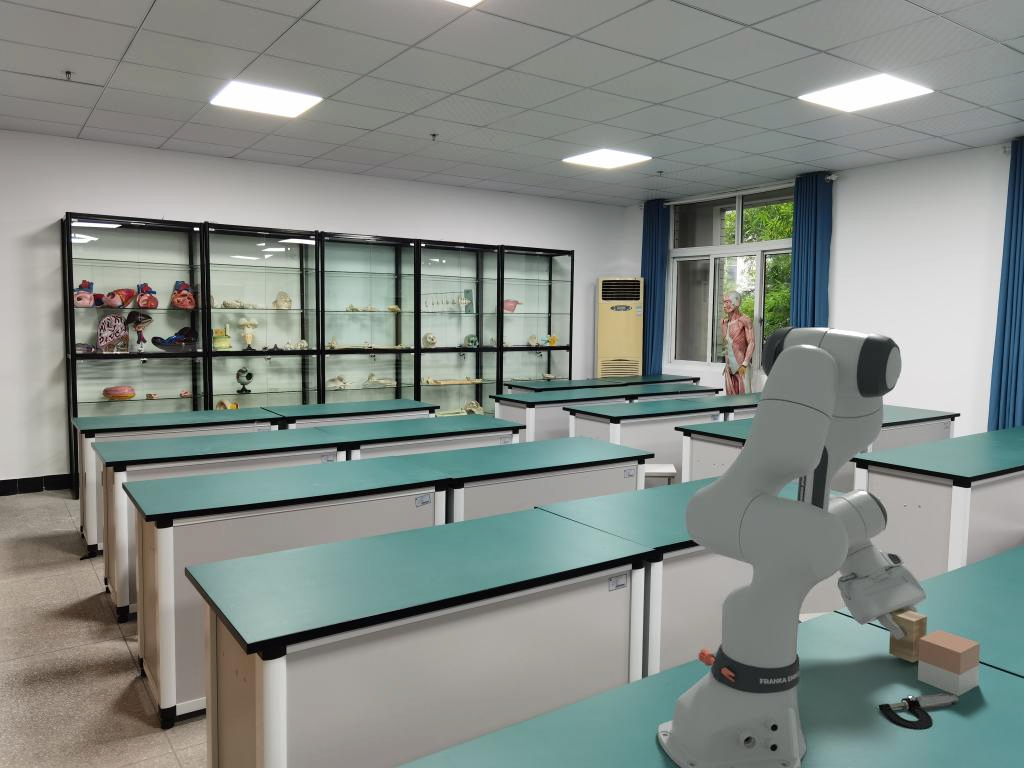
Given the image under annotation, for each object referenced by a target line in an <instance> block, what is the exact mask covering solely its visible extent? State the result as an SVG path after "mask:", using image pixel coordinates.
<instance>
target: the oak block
mask: <svg viewBox="0 0 1024 768" xmlns="http://www.w3.org/2000/svg"><path fill="white" fill-rule="evenodd" d="M891 616H892V618H893V619H892V620H893V621H894V622H895V623H896V624H897V625H898V626H899V627H900V626H902V627H903V628H904V630H905V631H906V632H907V636H905V637H903V638H901V639H896V638H895V636H894V635H893V634H892V632H890V631H889V645H888V646H889V649H888V650H889V652H888V654H890V655H892V656H895V657H897V658H899V659H902V660H905V661H908V662H910V663H915V662H917V661H919V639H920V638H922V637H924V636H926V635H927V629H928V628H927V627H928V616H927V615H924V614H921V613H919V612H918V613H916V612H913V611H910V610H907V609H901V610H898V611H896V612H893V613H891Z"/></svg>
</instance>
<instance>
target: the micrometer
mask: <svg viewBox="0 0 1024 768" xmlns="http://www.w3.org/2000/svg"><path fill="white" fill-rule="evenodd" d="M958 702H959V698H958V696H957V695H955V694H948V693H945V692H943V693H938V694H927V695H926V694H925V695H919V696H914V695H911V694H908V695H907V697H904V698H901V702H896V703H882V704H879V705H878V709H879V710H880V712H883V714H884V716H885V717H886V719H888V720H889V721H890V722H891V723H893V724H895V725H896V726H900V727H902V728H906V729H911V730H920V731H921V730H928V729H929V728H931V727H932V726H933V718H932V716H931V715H930V714H929V713H928V712H927V711H926V710H927V709H935V708H941V707H942V708H943V707H950V706H951V705H952V704H958ZM896 709H905V710H906V711H908V712H909V711H910V712H912V713H913V715H915V716H916V717H917V718H918V719H917V720H909V719H906V718H903V717H902V716H900V714H898V713H897V712H895V710H896Z"/></svg>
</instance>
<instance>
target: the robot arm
mask: <svg viewBox="0 0 1024 768" xmlns="http://www.w3.org/2000/svg"><path fill="white" fill-rule="evenodd" d="M902 365H903V364H902V356H901V350H900V347H899V345H898V344H897V343H896V342H895V341H894V339H893V338H891V337H890V336H886V335H883V334H878V333H875V332H871V333H870V334H869V333H864V332H860V331H859V332H858V331H852V330H845V329H835V328H833V327H797V326H789V327H787V326H786V327H781V328H777V329H776V330H775V331H773V332H772V333H771V334H770V335H769V336H767V338H766V340H765V342H764V344H763V348H762V352H761V366H762V371H763V372H764V374H765V376H766V377H767V378H766V380H765V383H764V385H763V388H762V391H761V393H760V398H759V400H758V402H757V403H758V404H757V405H756V406H757V407H756V410H755V414H754V417H753V419H752V422H751V426H750V428H749V431H748V435H747V438H746V440H745V443H744V445H743V446H742V448H741V450H740V452H739V454H738V455H737V457H736V458H735V460H734V462H732V464H731V465H730V466H729V468H728V469H726V470H725V472H724V473H723V474H722V475H720V476H719V477H718V478H717V479H716V480H714V481H713V482H711V483H710V484H708V485H706V486H703V487H701V488H700V489H698V490H696V491H695V493H694V494H693V495H692V496H691V497H690V499H689V501H688V503H687V505H686V508H685V513H684V525H685V529H686V532H687V534H688V536H689V537H690V539H691V540H692V541H693V542H694V543H696V544H698V545H700V546H701V547H703V548H704V549H706V550H708V551H710V552H712V553H714V554H715V555H719V556H723V557H726V558H729V559H732V560H736V561H739V562H742V563H745V564H749V565H751V566H752V571H753V572H752V573H753V574H752V579H751V582H750V583H746V584H743V585H741V586H738V587H735V588H733V589H732V590H731V591H729V593H728V594H727V595H726V597H725V598H724V600H723V602H722V605H721V607H722V608H721V644H719V647H718V649H717V651H716V653H715V655H714V653H711V652H710V651H709V650H708V649H706V648H702V649H701V650H699V652H698V656H697V657H698V660H699V661H700V662H702V663H704V665H705V666H707V667H710V671H709V672H707V674H705V675H704V676H703V677H702V678H700V679H699V680H698V681H697V682H696V683H694V684H693V685H692V686H691V687H690V688H689V689H688V690H686V691H685V692H684V693H682V694H681V695H680V696H679V697H678V698H677V700H676V703H675V706H674V709H673V715H672V720H669V721H666V722H663V723H660V724H659V725H658V729H657V740H658V742H659V744H660V746H661V748H662V749H663V750H664V752H665V753H666V754H667V755H668V757H669V758H670V759H671V760H672V761H673V762H674V763H675V764H677V766H678V767H680V768H802V764H801V760H802V758H803V757H804V756H805V753H806V750H807V744H806V741H805V738H804V734H803V730H802V726H801V719H800V712H799V702H798V689H797V688H798V687H797V686H798V685H799V682H800V657H799V654H798V653H797V650H798V649H797V648H798V633H799V622H800V613H801V609H802V607H803V603H804V602H805V599H806V597H807V596H808V594H809V593H810V592H811V590H812V589H813V588H814V587H815V586H816V585H817V586H818V584H820V583H821V582H823V581H825V580H827V579H829V578H831V577H833V576H834V575H835V574H836V573H837V572H839V573H840V575H841V576H839V577H838V578H837V588H838V590H839V592H840V596H841V598H842V601H843V602H844V604H845V606H846V607H847V610H848V611H849V612H850V614H851V616H852V618H853V619H854V621H855V622H857V623H858V624H859V625H861V626H862V625H866V624H868V623H871V622H875V621H878V622H879V625H881V626H882V627H884V628H885V629H886V630H888V631H889V633H890V632H892V634H893V635H894V636H895V638H896V639H901V638H903V637H905V636H907V632H906V631H905V630H904V628H903V627H902V626H900V627H899V626H898V625H897V624H896V623H895V622H894V621H893V620H892V619H893V618H892V616H891V613H893V612H896V611H898V610H901V609H907V610H910V611H913V612H916V613H919V612H918V609H917V608H916V606H917V605H919V604H921V603H922V602H924V601H925V600H926V599H927V594H926V590H925V589H924V587H923V586H922V584H921V583H920V581H919V580H918V579H917V578H916V577H915V575H914V574H913V573H912V571H911V570H910V569H909V568H908V567H906V566H904V565H903V564H904V563H905V562H904V559H903V558H902V556H900V555H899V554H897V553H893V552H892V553H891V552H886V551H883V550H879V548H878V547H877V546H876V545H875V544H874V543H873V542H872V541H871V539H872V538H874V537H877V536H878V535H879V536H880V534H881V533H882V532H883V531H885V530H886V528H887V524H888V513H887V510H886V507H885V506H884V504H883V503H882V501H880V499H879V498H878V497H876V496H875V495H874V494H872V493H871V492H869V491H868V490H864V489H856V490H852V491H848V492H846V493H843V494H839V495H835V494H832V493H831V488H832V483H833V480H834V478H835V476H836V474H837V473H838V472H839V471H840V470H841V469H842V468H843V467H844V466H845V465H846V464H847V463H848V462H849V461H850V460H852V459H853V458H854V457H856V456H857V455H858V454H860V453H862V452H863V451H864V450H866V449H867V448H869V447H870V445H872V444H873V443H874V442H875V440H877V438H878V436H879V435H880V433H881V430H882V426H883V422H884V399H883V398H884V397H883V396H885V395H887V394H888V393H890V392H891V391H893V390H894V388H895V387H896V384H897V382H898V380H899V378H900V375H901V373H902ZM797 479H798V487H797V498H796V500H795V499H792V498H787V497H782V496H779V494H780V492H782V490H783V489H785V487H786V486H787V485H788V484H790V483H791V482H792V481H794V480H797Z"/></svg>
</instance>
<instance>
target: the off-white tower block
mask: <svg viewBox="0 0 1024 768" xmlns="http://www.w3.org/2000/svg"><path fill="white" fill-rule="evenodd" d="M979 673H980V664H979V665H977V666H976V667H974V668H972V669H970V670H968V671H967V672H965V673H963V674H961V675H958V674H955V673H952V672H950V671H947V670H944V669H942V668H939V667H936V666H934V665H931V664H928V663H926V662H923V661H920V660H918V669H917V680H918V681H921V682H922V683H925V684H927V685H930V686H932V687H935V688H937V689H940V690H942V691H945V692H947V693H949V694H951V695H955V696H956V697H959V696H961V695H963V694H965V693H967V692H969V691H970V690H972V689H974V688H976V687H978V686H979V679H980V678H979V677H980V676H979V675H980V674H979Z"/></svg>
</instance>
